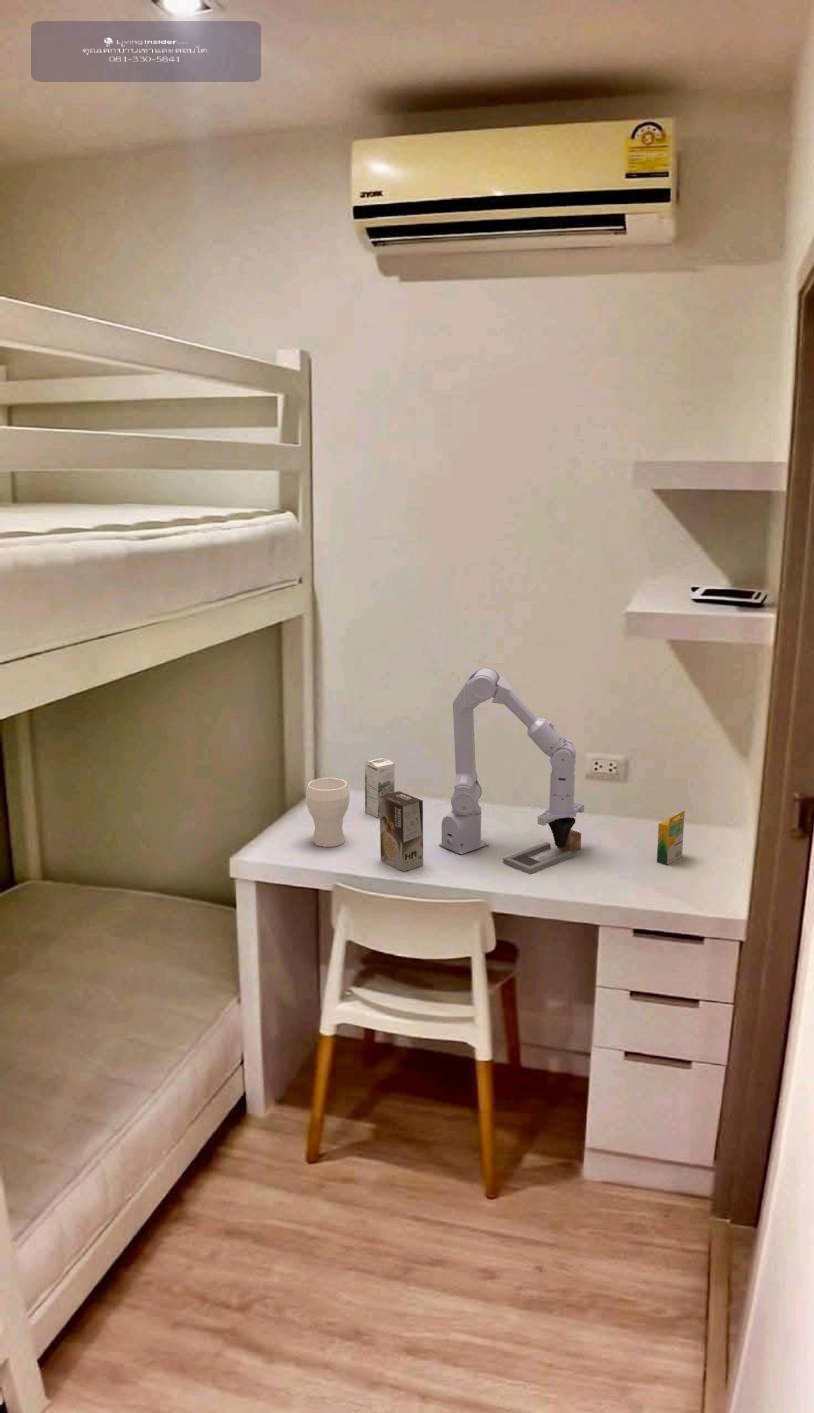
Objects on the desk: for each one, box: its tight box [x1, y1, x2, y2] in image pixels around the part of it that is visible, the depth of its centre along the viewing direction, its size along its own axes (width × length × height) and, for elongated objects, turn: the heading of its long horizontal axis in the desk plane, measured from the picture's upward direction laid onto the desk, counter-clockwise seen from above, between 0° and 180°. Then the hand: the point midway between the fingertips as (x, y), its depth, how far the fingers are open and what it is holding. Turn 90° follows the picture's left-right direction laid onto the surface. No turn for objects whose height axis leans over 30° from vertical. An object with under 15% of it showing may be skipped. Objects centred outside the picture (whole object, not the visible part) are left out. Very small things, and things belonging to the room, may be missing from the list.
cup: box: [305, 777, 350, 848], centre depth 247 cm, size 11×11×15 cm
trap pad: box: [518, 856, 541, 866], centre depth 235 cm, size 4×5×1 cm
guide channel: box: [502, 841, 574, 875], centre depth 237 cm, size 15×8×1 cm, turn 131°
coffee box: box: [379, 790, 424, 872], centre depth 234 cm, size 9×6×16 cm
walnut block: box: [556, 829, 582, 853], centre depth 243 cm, size 4×4×4 cm
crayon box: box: [656, 810, 686, 866], centre depth 236 cm, size 7×3×12 cm, turn 137°
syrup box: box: [364, 757, 396, 819], centre depth 266 cm, size 6×6×14 cm
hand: (560, 846), depth 241 cm, fingers closed
